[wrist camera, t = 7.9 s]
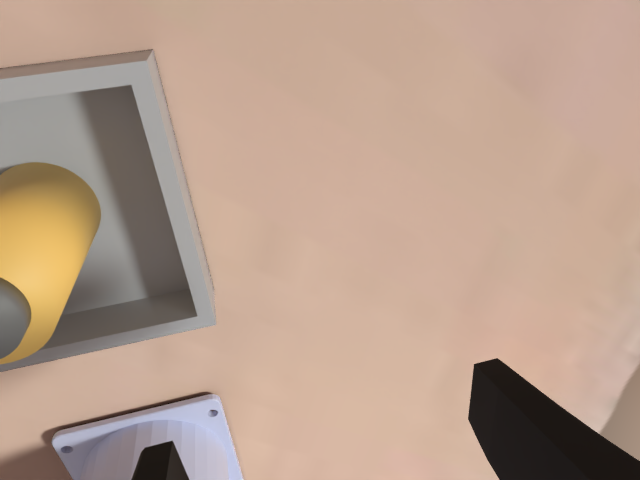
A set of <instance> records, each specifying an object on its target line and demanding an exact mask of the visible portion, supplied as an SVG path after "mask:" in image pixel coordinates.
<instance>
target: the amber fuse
mask: <svg viewBox="0 0 640 480" xmlns="http://www.w3.org/2000/svg"><path fill="white" fill-rule="evenodd" d="M100 221H101V209H100V204H99V201H98V199H97V197H96V195H95V193H94V191H93V190H92V189H91V187H90V186H89V185H88V184H87V183H86V182H85V181H84V180H83V179H82V178H81V177H79V176H78V175H76V174H75V173H73V172H71V171H69V170H68V169H65V168H63V167H60V166H57V165H54V164H49V163H41V162H30V163H24V164H20V165H16V166H14V167H11V168H9V169H8V170H6V171H4V172H3V173H2V174H1V175H0V364H5V363H10V362H14V361H17V360H20V359H23V358H25V357H28V356H30V355H31V354H33V353H35V352H37V351H38V350H39V349H40V348H42V347H43V346H44V345H45V344H46V343H47V342H48V341H49V339H50V338H51V336H52V335H53V332H54V330H55V328H56V326H57V323H58V321H59V319H60V316H61V314H62V312H63V309H64V307H65V305H66V302H67V300H68V298H69V295H70V293H71V291H72V288H73V286H74V284H75V281H76V279H77V277H78V274H79V272H80V270H81V268H82V265H83V263H84V261H85V258H86V256H87V254H88V251H89V249H90V247H91V244H92V242H93V240H94V237H95V235H96V233H97V230H98V228H99V225H100Z"/></svg>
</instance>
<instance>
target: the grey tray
mask: <svg viewBox="0 0 640 480" xmlns="http://www.w3.org/2000/svg"><path fill="white" fill-rule="evenodd" d="M30 162H41V163H49V164H54V165H57V166H60V167H63V168H65V169H68V170H69V171H71V172H73V173H75V174H76V175H78V176H79V177H81V178H82V179H83V180H84V181H85V182H86V183H87V184H88V185H89V186H90V187H91V189H92V190H93V191H94V193H95V195H96V197H97V199H98V201H99V204H100V209H101V221H100V225H99V228H98V230H97V233H96V235H95V237H94V240H93V242H92V244H91V247H90V249H89V251H88V254H87V256H86V258H85V261H84V263H83V265H82V268H81V270H80V272H79V274H78V277H77V279H76V281H75V284H74V286H73V288H72V291H71V293H70V295H69V298H68V300H67V302H66V305H65V307H64V309H63V312H62V314H61V316H60V319H59V321H58V323H57V326H56V328H55V330H54V332H53V335H52V336H51V338H50V339H49V341H48V342H47V343H46V344H45V345H44V346H43V347H42V348H40V349H39V350H38V351H37V352H35V353H33V354H31V355H30V356H28V357H25V358H23V359H20V360H17V361H14V362H10V363H5V364H0V372H3V371H7V370H12V369H16V368H21V367H25V366H30V365H35V364H39V363H44V362H48V361H53V360H57V359H62V358H67V357H71V356H76V355H80V354H85V353H89V352H94V351H99V350H103V349H108V348H112V347H117V346H121V345H126V344H131V343H135V342H140V341H144V340H149V339H153V338H158V337H163V336H167V335H172V334H176V333H181V332H185V331H190V330H195V329H199V328H204V327H208V326H213V325H216V313H215V297H214V287H213V283H212V279H211V275H210V271H209V268H208V264H207V260H206V256H205V252H204V248H203V244H202V240H201V236H200V232H199V228H198V224H197V220H196V216H195V212H194V208H193V204H192V201H191V197H190V193H189V189H188V185H187V181H186V177H185V173H184V169H183V165H182V161H181V157H180V153H179V149H178V145H177V141H176V138H175V134H174V130H173V126H172V122H171V118H170V114H169V110H168V106H167V102H166V98H165V94H164V90H163V86H162V82H161V78H160V74H159V71H158V67H157V63H156V59H155V55H154V51H153V49H152V50H144V51H136V52H128V53H120V54H112V55H104V56H96V57H88V58H80V59H72V60H64V61H55V62H47V63H39V64H31V65H23V66H15V67H7V68H0V175H1V174H2V173H3V172H4V171H6V170H8V169H9V168H11V167H14V166H16V165H20V164H24V163H30Z"/></svg>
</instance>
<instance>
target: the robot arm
mask: <svg viewBox="0 0 640 480" xmlns="http://www.w3.org/2000/svg"><path fill="white" fill-rule="evenodd" d="M210 410H214V411H210ZM468 420H469V422H470V424H471V426H472V428H473V430H474V433H475V435H476V437H477V439H478V441H479V443H480V445H481V447H482V449H483V451H484V453H485V456H486V458H487V460H488V461H489V463H490V465H491V466H492V468H493V470H494V471H495V473H496V475H497V476H498V478H499V479H500V480H640V461H639V460H637V459H635V458H634V457H632V456H631V455H629V454H628V453H626V452H625V451H623V450H622V449H620V448H619V447H617V446H616V445H614V444H613V443H611V442H610V441H608V440H607V439H605V438H604V437H603V436H601V435H600V434H598V433H597V432H595V431H594V430H592V429H591V428H590V427H588V426H587V425H586V424H584V423H583V422H581V421H580V420H579V419H577V418H576V417H574V416H573V415H572V414H570V413H569V412H567V411H566V410H565V409H563V408H562V407H561V406H559V405H558V404H557V403H555V402H554V401H553V400H551V399H550V398H549V397H547V396H546V395H545V394H543V393H542V392H541V391H539V390H538V389H537V388H536V387H534V386H533V385H532V384H530V383H529V382H528V381H526V380H525V379H524V378H523V377H521V376H520V375H519V374H517V373H516V372H515V371H514V370H512V369H511V368H510V367H508V366H507V365H506V364H504V363H503V362H502V361H500V360H499V359H498V358H497V359H493V360H489V361H485V362H481V363H477V364H474V371H473V380H472V389H471V398H470V407H469V416H468ZM52 446H53V447H54V449H55V451H56V452H57V454H58V456H59V457H60V459H61V461H62V462H63V464H64V465H65V467H66V469H67V470H68V472H69V474H70V475H71V477H72V479H73V480H244V479H243V475H242V472H241V468H240V465H239V461H238V458H237V455H236V451H235V448H234V444H233V441H232V437H231V434H230V430H229V427H228V423H227V420H226V416H225V413H224V409H223V406H222V402H221V399H220V397H219V396H217V395H215V394H208V395H204V396H200V397H196V398H192V399H188V400H184V401H179V402H175V403H171V404H167V405H163V406H159V407H155V408H150V409H146V410H142V411H138V412H134V413H130V414H126V415H121V416H117V417H113V418H109V419H105V420H101V421H97V422H92V423H88V424H84V425H80V426H76V427H72V428H68V429H63V430H60V431H57V432H56V433H55V434H54V436H53V439H52Z"/></svg>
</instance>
